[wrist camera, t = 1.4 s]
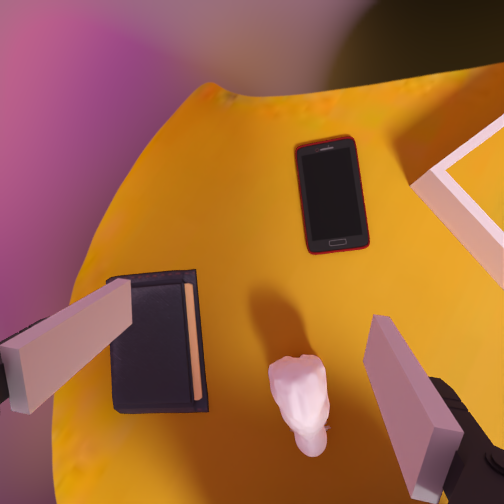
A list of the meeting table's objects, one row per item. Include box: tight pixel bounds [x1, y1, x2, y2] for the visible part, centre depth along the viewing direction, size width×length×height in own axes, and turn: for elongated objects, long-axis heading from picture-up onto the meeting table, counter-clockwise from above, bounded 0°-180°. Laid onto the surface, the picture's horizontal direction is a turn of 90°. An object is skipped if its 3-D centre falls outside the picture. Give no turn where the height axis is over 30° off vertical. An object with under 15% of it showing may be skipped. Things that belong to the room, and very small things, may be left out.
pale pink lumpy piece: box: [268, 354, 330, 457], centre depth 32 cm, size 6×8×12 cm
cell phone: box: [296, 137, 370, 255], centre depth 37 cm, size 8×15×1 cm, turn 6°
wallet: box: [106, 269, 209, 414], centre depth 40 cm, size 20×2×15 cm
